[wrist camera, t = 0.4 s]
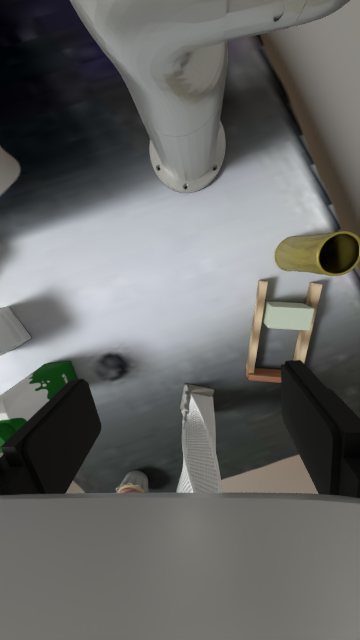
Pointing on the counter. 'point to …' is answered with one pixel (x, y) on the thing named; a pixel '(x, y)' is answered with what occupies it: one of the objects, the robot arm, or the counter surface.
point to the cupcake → (134, 483)
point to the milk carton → (31, 396)
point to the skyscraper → (199, 442)
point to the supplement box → (11, 331)
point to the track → (251, 371)
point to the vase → (320, 253)
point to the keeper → (287, 315)
